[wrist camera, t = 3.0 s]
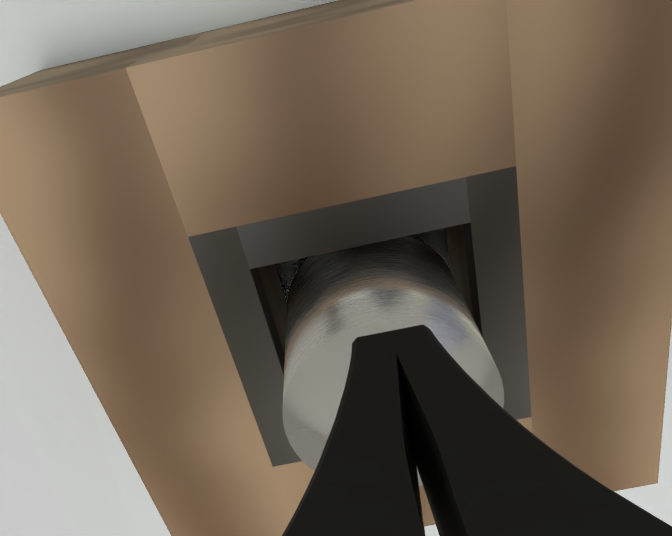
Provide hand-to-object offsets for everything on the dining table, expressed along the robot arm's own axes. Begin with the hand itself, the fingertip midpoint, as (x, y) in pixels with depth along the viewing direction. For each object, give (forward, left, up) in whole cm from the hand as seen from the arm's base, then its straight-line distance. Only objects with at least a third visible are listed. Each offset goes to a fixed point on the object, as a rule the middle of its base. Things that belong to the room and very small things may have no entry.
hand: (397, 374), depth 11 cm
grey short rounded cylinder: (0, +2, -6) cm, 6 cm away
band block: (0, +2, -10) cm, 10 cm away
